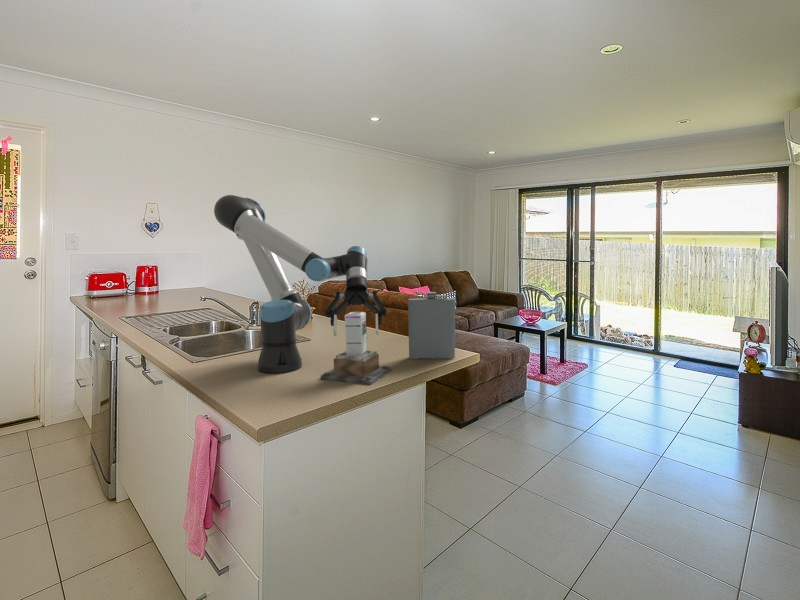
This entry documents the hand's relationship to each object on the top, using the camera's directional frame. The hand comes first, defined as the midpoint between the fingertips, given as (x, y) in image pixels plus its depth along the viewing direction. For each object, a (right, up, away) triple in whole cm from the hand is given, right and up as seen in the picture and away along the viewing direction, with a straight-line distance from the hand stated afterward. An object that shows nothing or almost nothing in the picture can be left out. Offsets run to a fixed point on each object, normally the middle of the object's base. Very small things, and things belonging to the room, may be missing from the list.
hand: (356, 333), depth 138 cm
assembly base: (0, -14, +4) cm, 15 cm away
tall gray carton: (+26, -11, +24) cm, 38 cm away
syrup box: (0, -8, +3) cm, 9 cm away
